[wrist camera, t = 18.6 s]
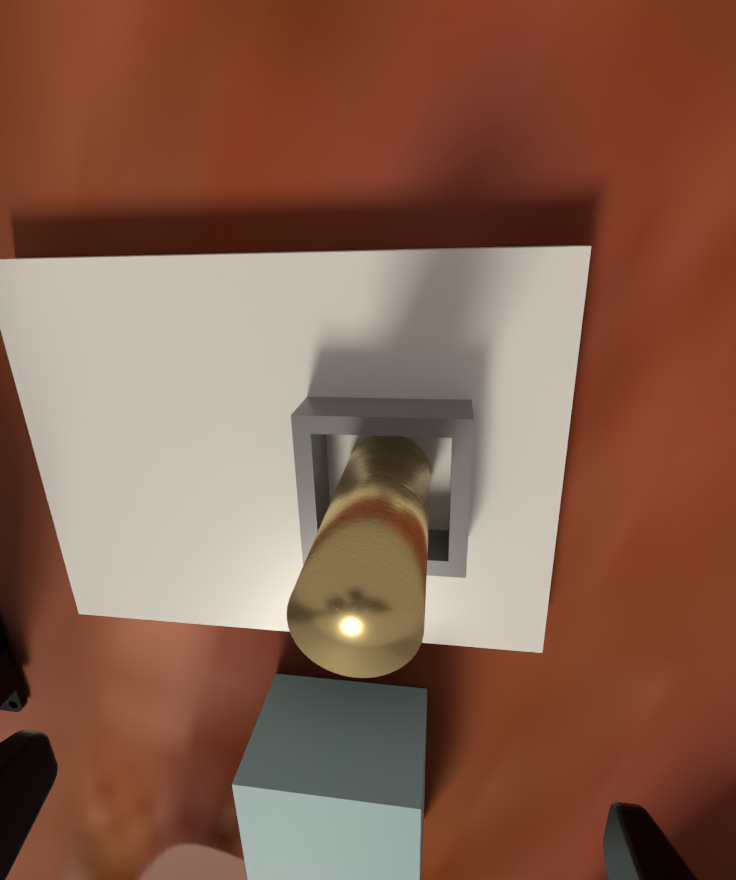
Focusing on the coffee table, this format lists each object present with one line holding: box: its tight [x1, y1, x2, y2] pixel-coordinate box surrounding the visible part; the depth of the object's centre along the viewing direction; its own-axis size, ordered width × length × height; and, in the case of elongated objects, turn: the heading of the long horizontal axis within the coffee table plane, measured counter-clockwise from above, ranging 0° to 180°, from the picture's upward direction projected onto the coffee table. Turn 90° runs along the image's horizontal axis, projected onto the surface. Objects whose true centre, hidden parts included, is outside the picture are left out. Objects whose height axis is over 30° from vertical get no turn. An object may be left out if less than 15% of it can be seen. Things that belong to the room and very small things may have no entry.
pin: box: [287, 436, 431, 678], centre depth 15 cm, size 3×3×8 cm
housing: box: [232, 674, 427, 880], centre depth 24 cm, size 7×9×6 cm
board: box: [0, 245, 591, 653], centre depth 19 cm, size 20×15×4 cm
